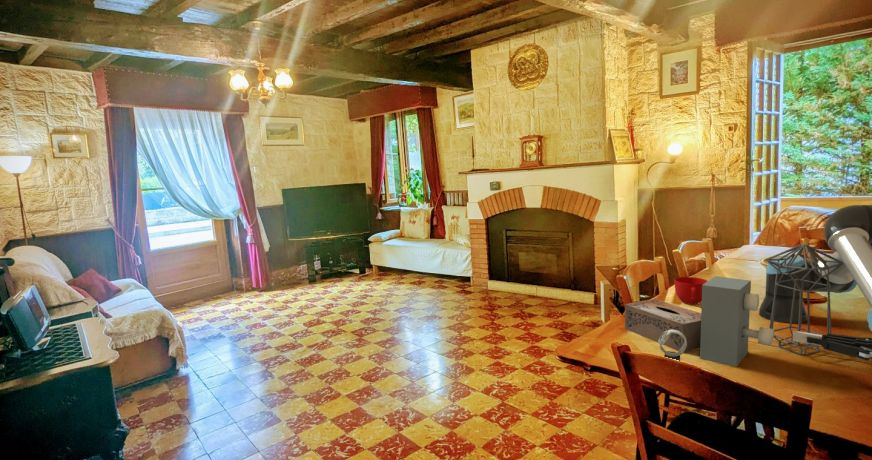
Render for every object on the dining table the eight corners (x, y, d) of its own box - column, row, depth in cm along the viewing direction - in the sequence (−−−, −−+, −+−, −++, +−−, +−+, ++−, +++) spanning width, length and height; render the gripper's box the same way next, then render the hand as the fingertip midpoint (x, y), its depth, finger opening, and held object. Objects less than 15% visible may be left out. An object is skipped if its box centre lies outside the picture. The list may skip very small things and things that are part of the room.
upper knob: (758, 308, 144) (759, 292, 144) (754, 312, 141) (755, 296, 140) (725, 303, 151) (726, 288, 150) (720, 307, 147) (721, 291, 147)
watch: (658, 359, 150) (658, 326, 149) (686, 363, 146) (687, 329, 145) (656, 366, 145) (657, 332, 144) (686, 370, 142) (687, 335, 140)
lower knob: (773, 342, 143) (773, 326, 142) (769, 347, 139) (770, 331, 139) (738, 336, 149) (739, 321, 149) (734, 340, 146) (735, 325, 145)
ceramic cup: (676, 308, 199) (676, 285, 198) (672, 297, 215) (673, 276, 213) (711, 310, 194) (712, 287, 193) (705, 299, 210) (705, 277, 209)
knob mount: (747, 352, 152) (750, 280, 149) (736, 366, 142) (739, 289, 139) (713, 345, 159) (715, 276, 156) (699, 358, 149) (702, 285, 146)
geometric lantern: (841, 354, 148) (849, 245, 142) (804, 363, 143) (811, 251, 138) (791, 337, 163) (796, 237, 157) (756, 344, 158) (760, 243, 153)
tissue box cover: (624, 329, 178) (625, 304, 177) (654, 323, 183) (654, 298, 182) (682, 353, 154) (683, 324, 153) (714, 345, 159) (714, 317, 158)
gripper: (909, 334, 124) (797, 317, 141) (908, 349, 115) (789, 329, 132) (906, 361, 125) (796, 341, 142) (906, 378, 116) (788, 354, 133)
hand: (793, 335), depth 137 cm, fingers closed
